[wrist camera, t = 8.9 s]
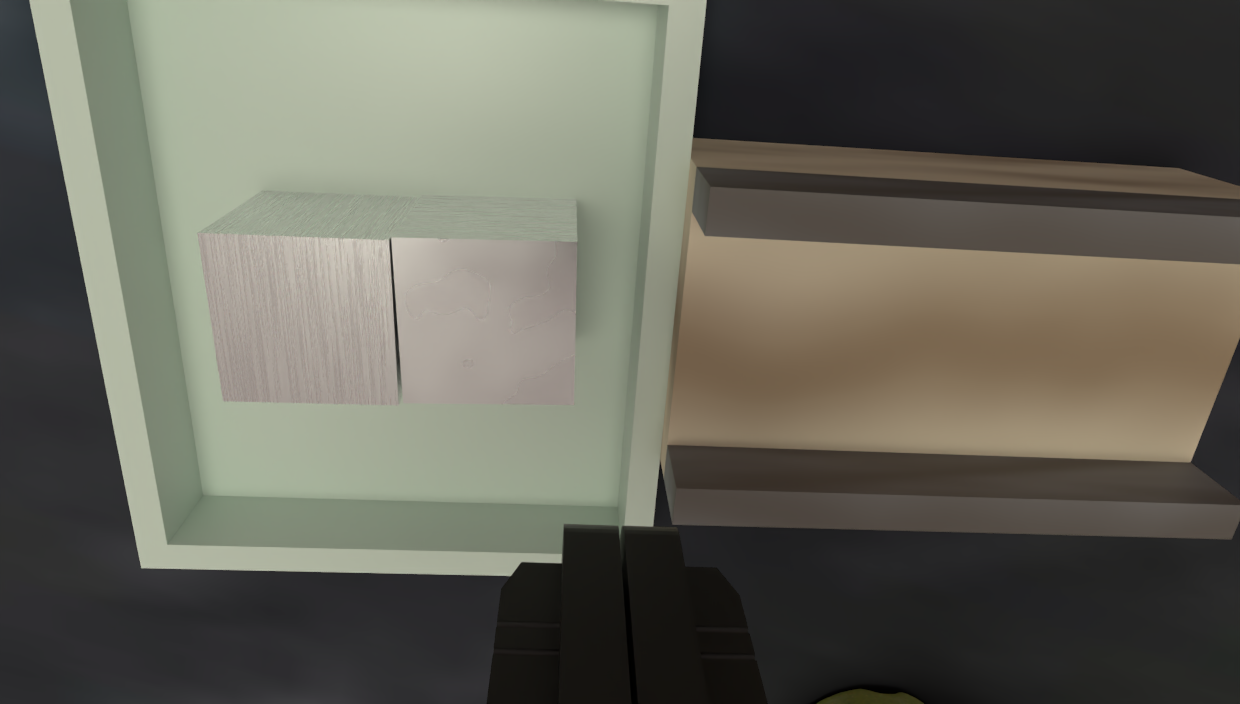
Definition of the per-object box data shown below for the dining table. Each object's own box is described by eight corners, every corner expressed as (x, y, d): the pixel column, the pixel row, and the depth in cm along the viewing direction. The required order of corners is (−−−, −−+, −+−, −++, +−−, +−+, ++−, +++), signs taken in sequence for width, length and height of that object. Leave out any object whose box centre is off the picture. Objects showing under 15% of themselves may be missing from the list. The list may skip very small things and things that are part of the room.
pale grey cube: (419, 196, 22) (261, 190, 21) (389, 240, 18) (197, 232, 18) (426, 339, 23) (278, 335, 23) (398, 405, 19) (223, 401, 19)
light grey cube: (421, 195, 22) (390, 237, 18) (576, 198, 22) (577, 241, 18) (429, 337, 23) (403, 403, 19) (573, 339, 23) (574, 405, 20)
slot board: (675, 136, 22) (710, 186, 16) (1178, 168, 23) (1369, 224, 17) (650, 407, 25) (672, 524, 20) (1092, 423, 26) (1231, 539, 21)
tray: (92, -77, 19) (12, -88, 16) (691, -31, 20) (710, -33, 18) (187, 505, 26) (141, 567, 23) (639, 517, 27) (647, 578, 24)
